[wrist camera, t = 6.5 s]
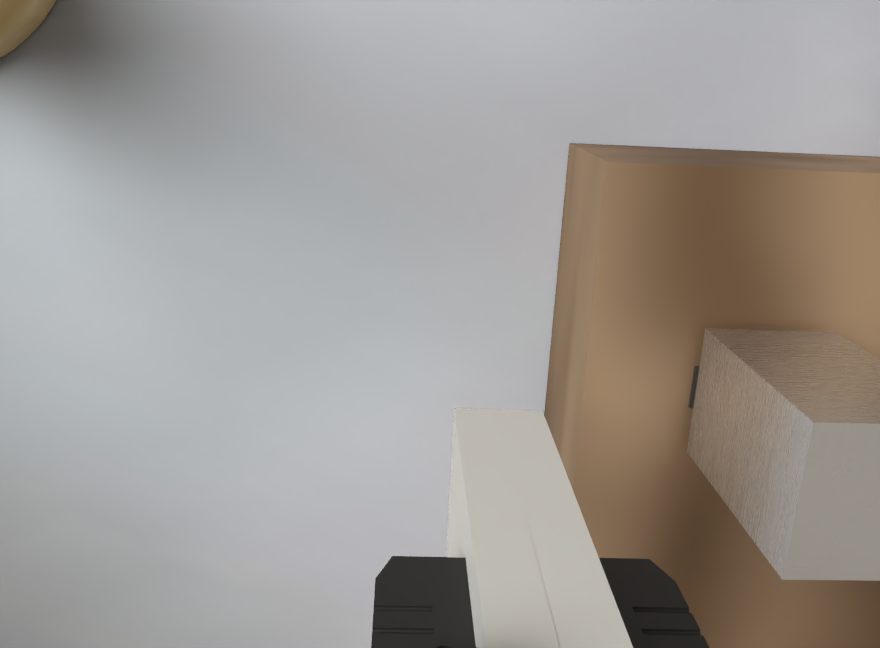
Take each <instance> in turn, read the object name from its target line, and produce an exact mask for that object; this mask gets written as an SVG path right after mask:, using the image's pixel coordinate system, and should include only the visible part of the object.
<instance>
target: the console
mask: <svg viewBox="0 0 880 648" xmlns="http://www.w3.org/2000/svg"><path fill="white" fill-rule="evenodd" d="M705 328H711V329H745V330H778V331H812V332H837V333H839V334H840V335H842V336H843V337H845V338H847V339H848V340H850V341H852V342H853V343H855V344H856V345H858V346H860V347H861V348H863V349H864V350H866V351H868V352H869V353H871V354H873V355H874V356H876V357H877V358H879V359H880V157H870V156H847V155H825V154H802V153H779V152H756V151H733V150H711V149H688V148H665V147H642V146H620V145H597V144H574V143H570V144H569V155H568V166H567V176H566V187H565V198H564V209H563V220H562V230H561V241H560V252H559V263H558V274H557V285H556V295H555V306H554V317H553V328H552V339H551V349H550V360H549V371H548V382H547V393H546V403H545V414H544V416H545V419H546V421H547V424H548V427H549V429H550V432H551V434H552V437H553V440H554V442H555V445H556V447H557V450H558V453H559V455H560V458H561V460H562V463H563V466H564V468H565V471H566V474H567V476H568V479H569V481H570V484H571V487H572V489H573V492H574V494H575V497H576V500H577V502H578V505H579V507H580V510H581V513H582V515H583V518H584V520H585V523H586V526H587V528H588V531H589V534H590V536H591V539H592V541H593V544H594V547H595V549H596V552H597V554H598V557H599V558H634V559H650V560H651V561H652V562H654V563H655V564H656V565H657V566H658V567H659V568H661V569H662V570H663V571H664V572H665V573H666V574H667V575H669V576H670V577H671V578H672V579H673V580H674V581H676V583H677V585H678V587H679V589H680V591H681V593H682V595H683V597H684V599H685V601H686V603H687V605H688V607H689V613H692V614H693V616H694V618H695V620H696V622H697V624H698V626H699V628H700V634H701V635H703V636H704V638H705V640H706V642H707V644H708V646H709V648H880V581H863V580H782V579H781V577H780V576H779V575H778V573H777V572H776V571H775V569H774V568H773V567H772V565H771V564H770V563H769V561H768V560H767V559H766V557H765V556H764V555H763V553H762V552H761V551H760V549H759V548H758V547H757V545H756V544H755V542H754V541H753V540H752V538H751V537H750V536H749V534H748V533H747V532H746V530H745V529H744V528H743V526H742V525H741V524H740V522H739V521H738V520H737V518H736V517H735V516H734V514H733V513H732V512H731V510H730V509H729V508H728V506H727V505H726V503H725V502H724V501H723V499H722V498H721V497H720V495H719V494H718V493H717V491H716V490H715V489H714V487H713V486H712V485H711V483H710V482H709V481H708V479H707V478H706V477H705V475H704V474H703V473H702V471H701V470H700V469H699V467H698V466H697V465H696V463H695V462H694V460H693V459H692V458H691V456H690V455H689V454H688V452H687V447H688V440H689V433H690V427H691V420H692V413H693V407H694V400H695V393H696V387H697V380H698V373H699V367H700V360H701V354H702V347H703V340H704V334H705Z"/></svg>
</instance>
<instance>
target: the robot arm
mask: <svg viewBox="0 0 880 648" xmlns="http://www.w3.org/2000/svg"><path fill="white" fill-rule="evenodd" d="M446 550H447V557H407V556H392V557H391V559H390V560H389V561H388V563H387V564H386V565H385V567H384V568H383V569H382V571H381V572H380V573H379V575H378V576H377V578H376V581H375V598H374V614H373V632H372V646H371V648H709V646H708V644H707V642H706V640H705V638H704V636H703V635H701V634H700V628H699V626H698V624H697V622H696V620H695V618H694V616H693V614H692V613H689V607H688V605H687V603H686V601H685V599H684V597H683V595H682V593H681V591H680V589H679V587H678V585H677V583H676V581H674V580H673V579H672V578H671V577H670V576H669V575H667V574H666V573H665V572H664V571H663V570H662V569H661V568H659V567H658V566H657V565H656V564H655V563H654V562H652V561H651V560H650V559H634V558H599V557H598V554H597V552H596V549H595V547H594V544H593V541H592V539H591V536H590V534H589V531H588V528H587V526H586V523H585V520H584V518H583V515H582V513H581V510H580V507H579V505H578V502H577V500H576V497H575V494H574V492H573V489H572V487H571V484H570V481H569V479H568V476H567V474H566V471H565V468H564V466H563V463H562V460H561V458H560V455H559V453H558V450H557V447H556V445H555V442H554V440H553V437H552V434H551V432H550V429H549V427H548V424H547V421H546V419H545V416H544V413H543V411H535V410H501V409H467V408H454V425H453V443H452V460H451V478H450V495H449V513H448V530H447V548H446Z"/></svg>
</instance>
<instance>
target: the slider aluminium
mask: <svg viewBox="0 0 880 648" xmlns="http://www.w3.org/2000/svg"><path fill="white" fill-rule="evenodd" d="M687 452H688V454H689V455H690V456H691V458H692V459H693V460H694V462H695V463H696V465H697V466H698V467H699V469H700V470H701V471H702V473H703V474H704V475H705V477H706V478H707V479H708V481H709V482H710V483H711V485H712V486H713V487H714V489H715V490H716V491H717V493H718V494H719V495H720V497H721V498H722V499H723V501H724V502H725V503H726V505H727V506H728V508H729V509H730V510H731V512H732V513H733V514H734V516H735V517H736V518H737V520H738V521H739V522H740V524H741V525H742V526H743V528H744V529H745V530H746V532H747V533H748V534H749V536H750V537H751V538H752V540H753V541H754V542H755V544H756V545H757V547H758V548H759V549H760V551H761V552H762V553H763V555H764V556H765V557H766V559H767V560H768V561H769V563H770V564H771V565H772V567H773V568H774V569H775V571H776V572H777V573H778V575H779V576H780V577H781V579H782V580H863V581H880V359H879V358H877V357H876V356H874V355H873V354H871V353H869V352H868V351H866V350H864V349H863V348H861V347H860V346H858V345H856V344H855V343H853V342H852V341H850V340H848V339H847V338H845V337H843V336H842V335H840V334H839V333H837V332H812V331H778V330H745V329H711V328H705V334H704V340H703V347H702V354H701V360H700V367H699V373H698V380H697V387H696V393H695V400H694V407H693V413H692V420H691V427H690V433H689V440H688V447H687Z"/></svg>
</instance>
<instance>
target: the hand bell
mask: <svg viewBox="0 0 880 648" xmlns="http://www.w3.org/2000/svg"><path fill="white" fill-rule="evenodd" d="M55 2H56V0H0V58H1V57H3V56H5V55H7V54H8V53H9V52H11V51H12V50H13V49H15V48H16V47H18V46H19V45H20V44H21V43H22V42H23V41H24V40H25V39H26V38H28V37H29V36H30V35H31V34H32V33H33V32H34V31H35V30H36V28H37V27H38V26H39V25H40V24H41V23H42V21H43V20H44V19H45V18H46V16H47V15H48V13H49V12H50V10H51V9H52V7H53V5H54V3H55Z"/></svg>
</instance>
